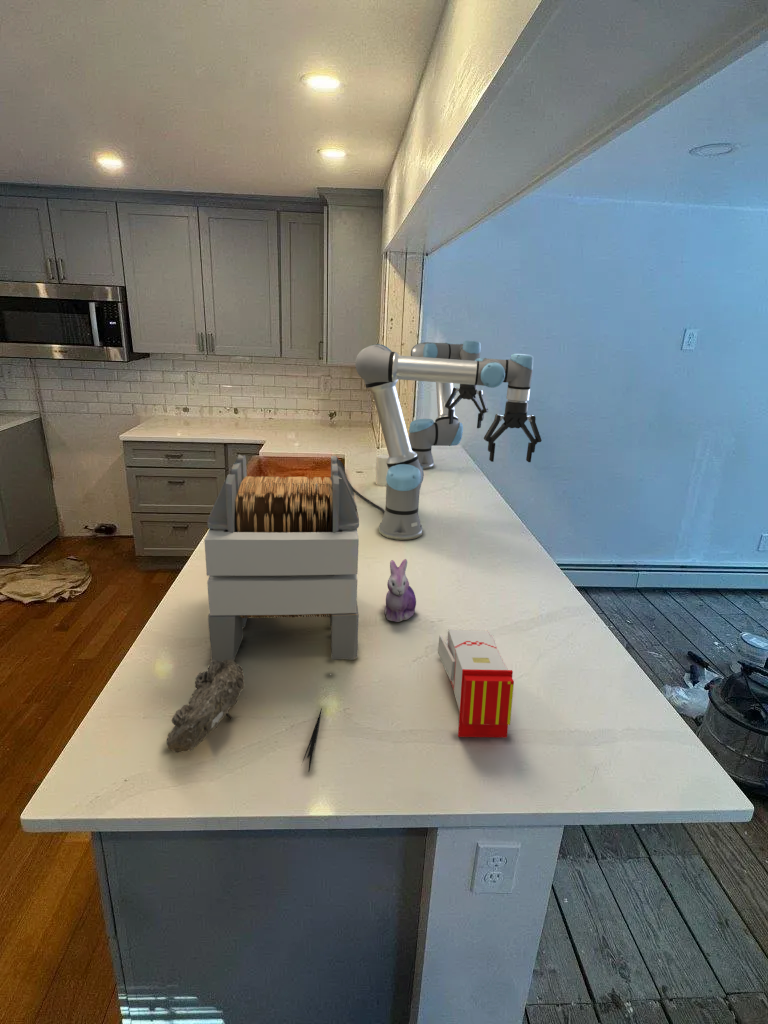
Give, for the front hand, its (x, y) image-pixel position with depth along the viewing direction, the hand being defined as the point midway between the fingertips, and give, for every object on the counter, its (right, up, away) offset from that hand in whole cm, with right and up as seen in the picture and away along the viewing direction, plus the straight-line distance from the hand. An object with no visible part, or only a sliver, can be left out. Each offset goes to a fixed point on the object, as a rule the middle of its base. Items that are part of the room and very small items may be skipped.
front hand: (509, 461), depth 201 cm
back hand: (-8, +21, +54) cm, 59 cm away
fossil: (-77, -57, -93) cm, 134 cm away
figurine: (-41, -45, -54) cm, 81 cm away
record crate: (-69, -46, -60) cm, 102 cm away
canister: (-45, -5, +55) cm, 71 cm away
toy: (-27, -56, -83) cm, 103 cm away
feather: (-57, -58, -93) cm, 123 cm away
